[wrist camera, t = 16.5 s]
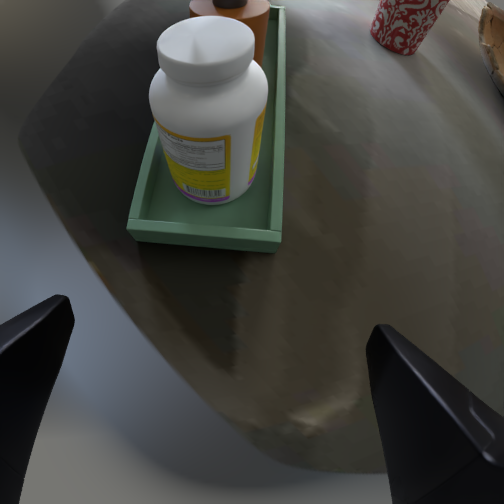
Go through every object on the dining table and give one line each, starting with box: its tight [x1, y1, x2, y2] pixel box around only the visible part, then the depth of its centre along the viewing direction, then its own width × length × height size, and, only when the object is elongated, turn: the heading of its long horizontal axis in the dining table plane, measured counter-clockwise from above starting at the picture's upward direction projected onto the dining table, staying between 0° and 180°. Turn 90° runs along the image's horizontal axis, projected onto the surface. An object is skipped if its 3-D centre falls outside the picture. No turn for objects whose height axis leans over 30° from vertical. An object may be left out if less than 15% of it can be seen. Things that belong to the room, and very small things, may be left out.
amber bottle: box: [189, 0, 270, 69], centre depth 21 cm, size 6×6×13 cm
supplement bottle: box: [149, 16, 268, 205], centre depth 18 cm, size 7×7×13 cm
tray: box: [127, 5, 286, 253], centre depth 26 cm, size 32×11×3 cm, turn 176°
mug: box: [370, 0, 449, 55], centre depth 28 cm, size 13×9×14 cm
